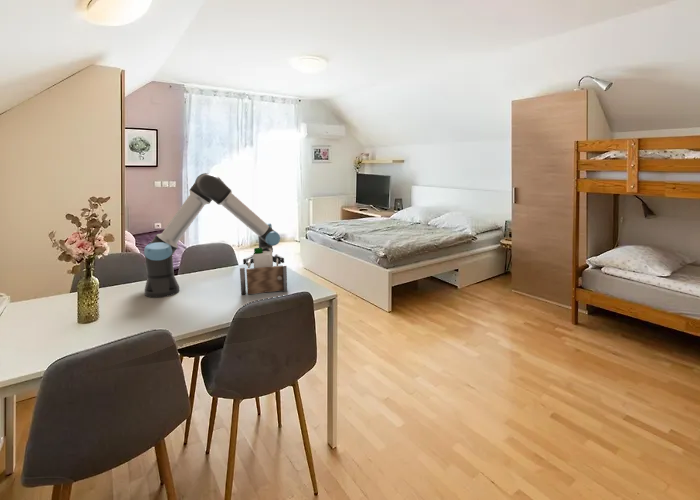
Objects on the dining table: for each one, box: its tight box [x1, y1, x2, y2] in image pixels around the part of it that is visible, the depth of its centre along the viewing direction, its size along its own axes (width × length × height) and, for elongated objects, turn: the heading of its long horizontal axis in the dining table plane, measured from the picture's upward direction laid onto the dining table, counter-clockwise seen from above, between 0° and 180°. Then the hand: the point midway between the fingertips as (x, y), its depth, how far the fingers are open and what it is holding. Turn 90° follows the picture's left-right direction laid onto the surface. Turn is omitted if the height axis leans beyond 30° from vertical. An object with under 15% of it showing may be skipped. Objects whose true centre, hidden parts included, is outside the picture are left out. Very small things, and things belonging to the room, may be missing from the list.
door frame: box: [239, 264, 288, 296], centre depth 190 cm, size 22×2×13 cm, turn 106°
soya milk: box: [252, 247, 274, 268], centre depth 198 cm, size 9×9×20 cm
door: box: [246, 265, 283, 295], centre depth 191 cm, size 18×4×12 cm, turn 111°
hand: (263, 264), depth 194 cm, fingers open, 13 cm apart
